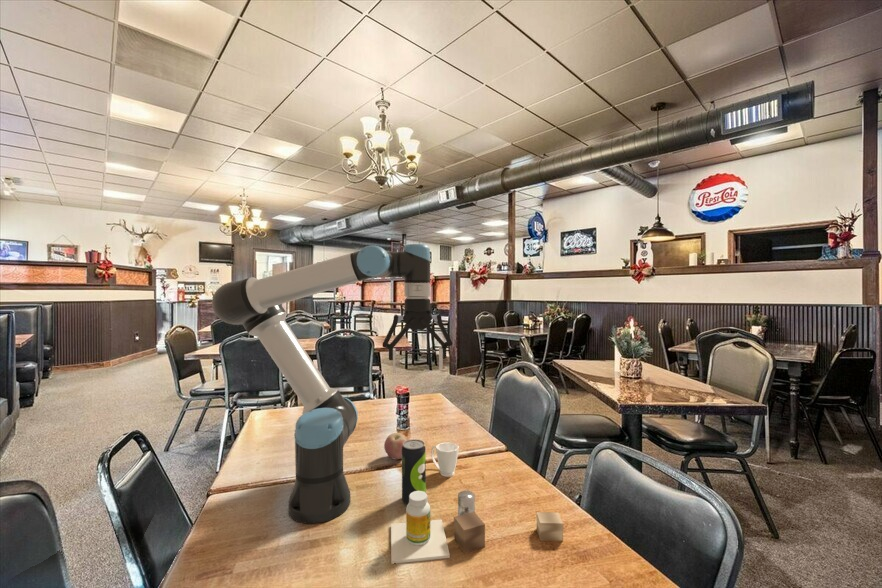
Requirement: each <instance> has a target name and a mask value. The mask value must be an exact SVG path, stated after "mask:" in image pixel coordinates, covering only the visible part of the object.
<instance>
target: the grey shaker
mask: <svg viewBox="0 0 882 588" xmlns="http://www.w3.org/2000/svg"><path fill="white" fill-rule="evenodd" d="M475 496H476V495H475V493H474V492H473V491H471V490H462V491H459V492H458V493H457V516H459V515H463V514H467V513H471V512H475V513H476V510H475V509H476V508H475V504H476V503H475V498H476V497H475Z"/></svg>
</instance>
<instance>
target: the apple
mask: <svg viewBox="0 0 882 588" xmlns="http://www.w3.org/2000/svg"><path fill="white" fill-rule="evenodd" d="M407 440H409V439H408V438H407V437H406V435H405V434H403V433H400V432H393V433H391V434H389V435H388V436H387V437H386V439H385V441H384V444H383V445H384V446H383V448H384V452H385V453H386V454H387V456H388V457H389V458H391V459H393V460H402V446H403V443H404V442H405V441H407Z"/></svg>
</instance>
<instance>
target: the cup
mask: <svg viewBox="0 0 882 588" xmlns="http://www.w3.org/2000/svg"><path fill="white" fill-rule="evenodd" d="M434 451H436V458H437V459H435V456H434ZM459 451H460V446H459V445H458V444H456V443H455V442H449V441H446V442H441V443H438V444H437V445H433V446H432V447H431V452H430V453H431V454H430V457H431V461H432V462H433V464H434V465H435V466H436V468H437V469H438V471H440V473H439V474H440V475H441V476H442V477H446V478H449V477H453V476H454V475H455V474H456V473H455V469H456V468H457V467H456V466H457V462H458V456H459ZM436 460H437V461H436Z"/></svg>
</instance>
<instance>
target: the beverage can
mask: <svg viewBox="0 0 882 588" xmlns="http://www.w3.org/2000/svg"><path fill="white" fill-rule="evenodd" d="M426 457H427V456H426V445H425V441H423V440H421V439H417V438H416V439H414V438H413V439H408V440H407V441H405V442H404V443H403V446H402V458H401V500H402V501H403V502H404V504H405V505H406V506H407V505H408V503H409V495H410V494H411V493H412V492H414V491H424V492H425V493H427V492H426V489H427V488H426V485H427V482H426V478H427V477H426V476H427V475H426V472H427V471H426V470H427V468H426V466H427V465H426V462H427V461H426Z"/></svg>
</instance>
